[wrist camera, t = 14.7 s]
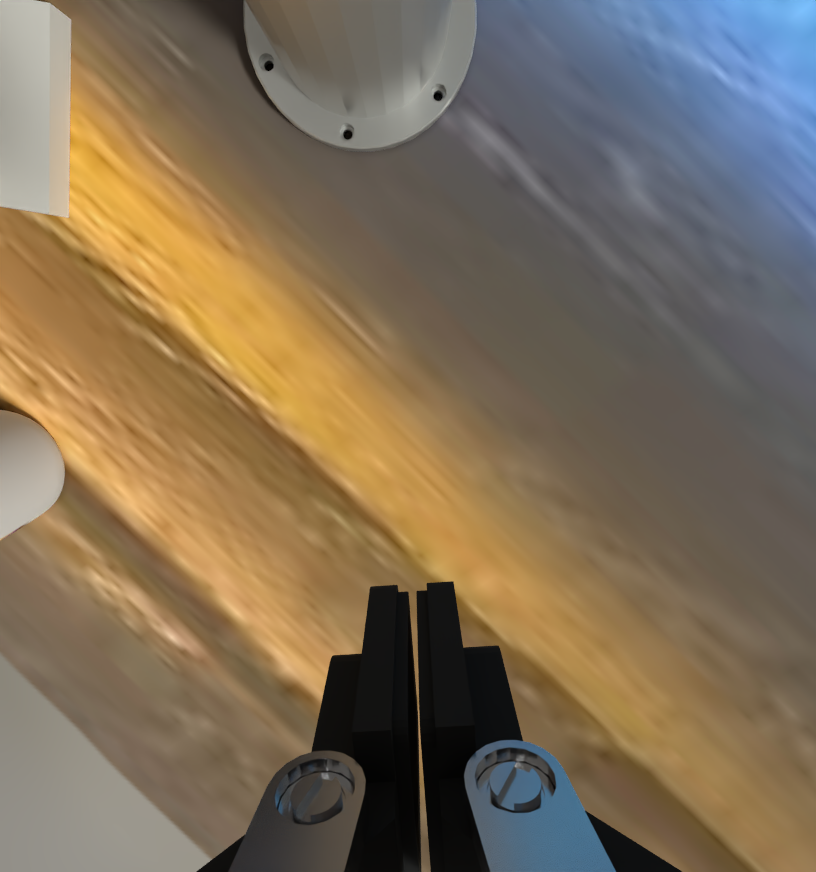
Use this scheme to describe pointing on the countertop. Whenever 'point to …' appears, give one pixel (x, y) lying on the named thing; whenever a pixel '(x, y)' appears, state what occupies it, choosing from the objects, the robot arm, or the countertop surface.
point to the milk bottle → (26, 471)
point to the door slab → (34, 107)
